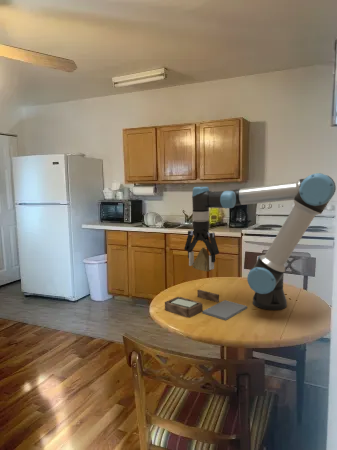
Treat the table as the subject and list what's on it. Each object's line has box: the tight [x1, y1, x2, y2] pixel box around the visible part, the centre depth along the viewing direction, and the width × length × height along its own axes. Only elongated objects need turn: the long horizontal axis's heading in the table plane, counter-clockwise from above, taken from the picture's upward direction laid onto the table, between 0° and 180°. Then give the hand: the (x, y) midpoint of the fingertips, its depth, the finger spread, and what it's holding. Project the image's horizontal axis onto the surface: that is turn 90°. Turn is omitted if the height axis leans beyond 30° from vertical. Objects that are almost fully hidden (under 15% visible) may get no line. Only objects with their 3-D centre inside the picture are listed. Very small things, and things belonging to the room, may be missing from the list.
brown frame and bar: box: [164, 289, 220, 318], centre depth 157 cm, size 14×25×4 cm, turn 138°
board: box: [201, 299, 248, 321], centre depth 151 cm, size 12×18×1 cm, turn 138°
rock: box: [191, 247, 211, 272], centre depth 157 cm, size 11×9×10 cm
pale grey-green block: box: [171, 299, 197, 309], centre depth 152 cm, size 10×6×4 cm, turn 54°
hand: (201, 267), depth 158 cm, fingers closed on rock, 11 cm apart
